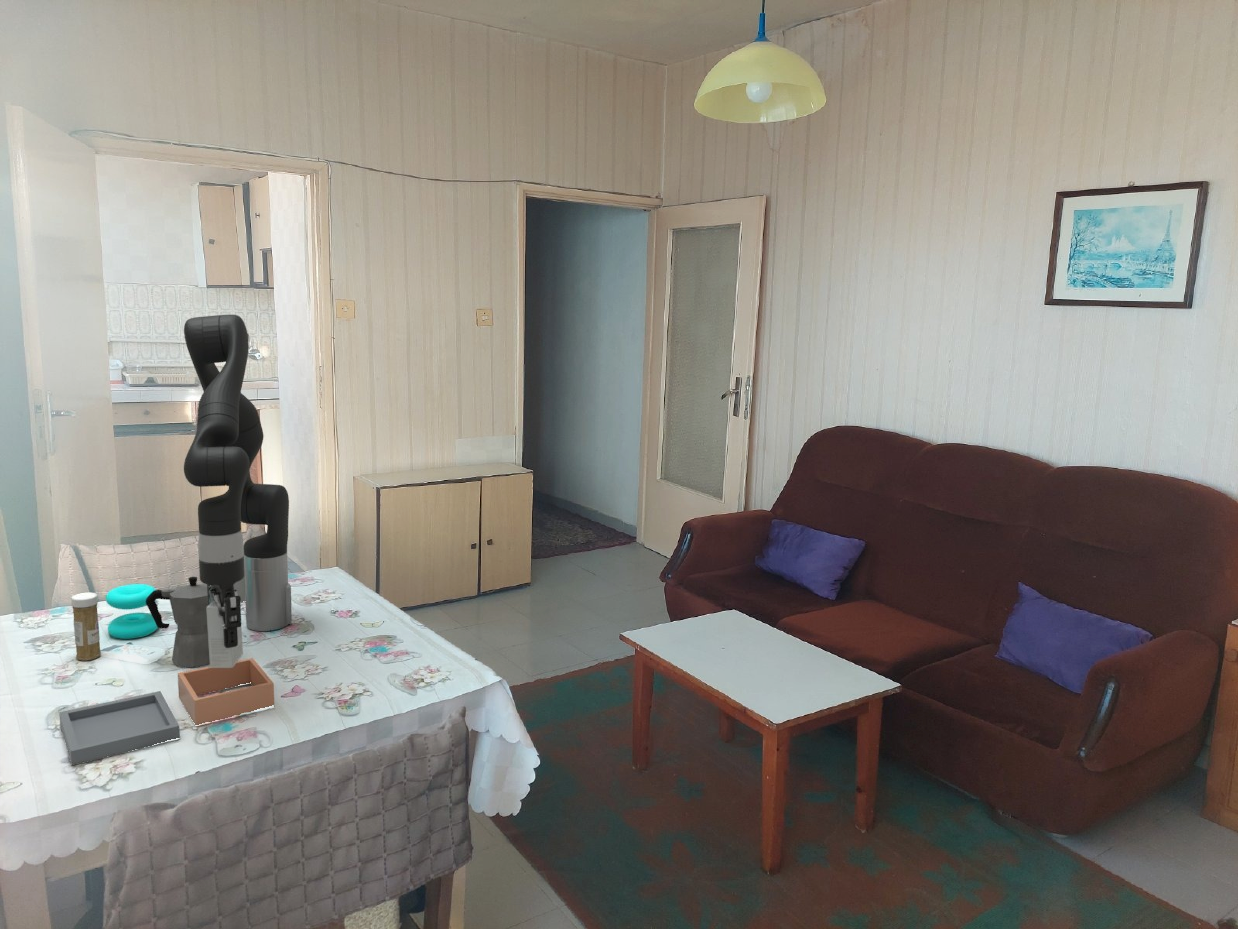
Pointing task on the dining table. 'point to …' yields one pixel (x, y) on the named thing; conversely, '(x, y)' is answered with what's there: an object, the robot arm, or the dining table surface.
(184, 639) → the coffeepot
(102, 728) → the grey tray
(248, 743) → the dining table surface
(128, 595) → the donuts
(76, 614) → the sprinkles bottle
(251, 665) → the orange square frame
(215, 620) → the skincare box
